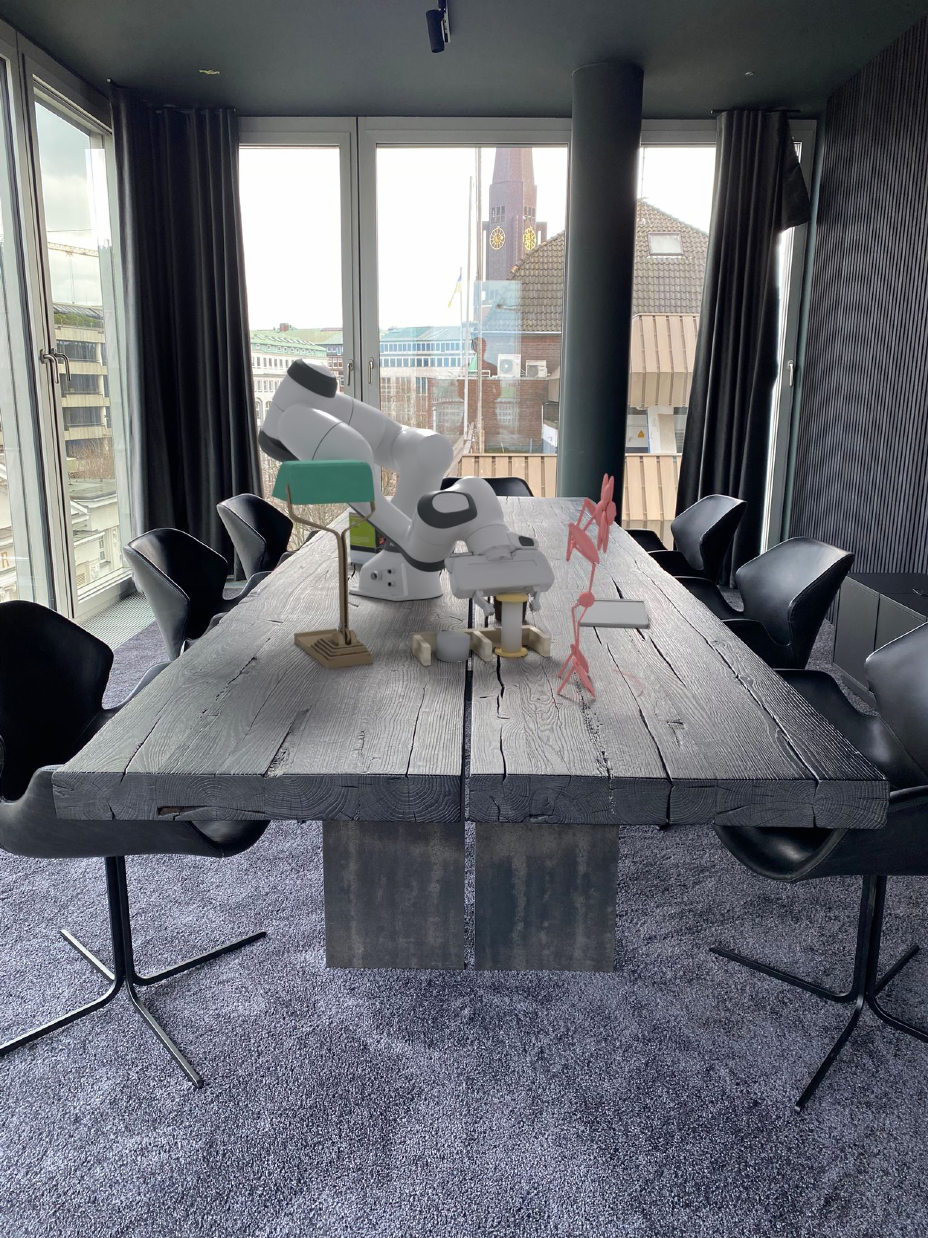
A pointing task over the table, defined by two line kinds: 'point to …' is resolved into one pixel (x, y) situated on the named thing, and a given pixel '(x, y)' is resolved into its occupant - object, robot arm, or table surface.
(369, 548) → the tea box
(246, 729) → the table surface
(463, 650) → the grey rounded cylinder
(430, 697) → the table surface
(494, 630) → the divided rack
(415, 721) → the table surface
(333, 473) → the banker's lamp
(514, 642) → the ball
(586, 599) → the figurine
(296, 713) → the table surface
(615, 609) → the gadget
